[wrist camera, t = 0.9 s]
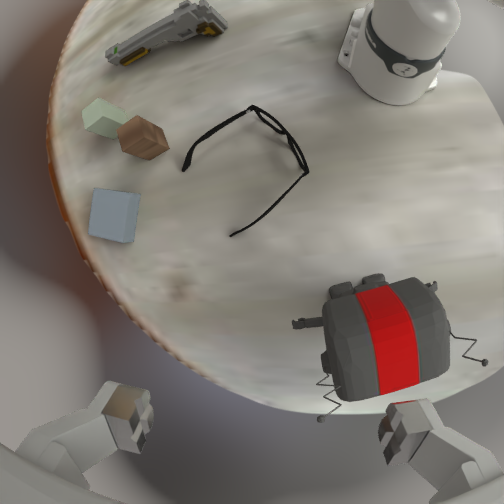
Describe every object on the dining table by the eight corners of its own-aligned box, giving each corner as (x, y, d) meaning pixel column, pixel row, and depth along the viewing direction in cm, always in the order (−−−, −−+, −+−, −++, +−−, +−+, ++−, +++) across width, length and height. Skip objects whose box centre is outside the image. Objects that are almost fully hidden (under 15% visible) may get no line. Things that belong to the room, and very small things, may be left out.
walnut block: (142, 140, 51) (115, 129, 43) (162, 128, 50) (137, 115, 42) (149, 160, 52) (122, 151, 43) (169, 148, 51) (144, 137, 42)
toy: (228, 34, 46) (202, 8, 37) (136, 76, 55) (104, 63, 46) (225, 15, 45) (200, -10, 36) (136, 58, 55) (106, 44, 45)
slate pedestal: (106, 189, 54) (94, 188, 51) (141, 194, 53) (129, 192, 49) (100, 233, 56) (88, 234, 52) (134, 241, 54) (123, 243, 50)
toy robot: (302, 335, 49) (286, 461, 20) (289, 285, 49) (257, 374, 20) (422, 303, 45) (519, 387, 16) (414, 251, 44) (526, 291, 15)
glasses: (319, 177, 47) (322, 172, 42) (234, 241, 50) (227, 243, 45) (259, 105, 48) (255, 94, 43) (180, 167, 51) (168, 161, 46)
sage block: (108, 122, 53) (81, 111, 44) (125, 110, 52) (98, 97, 43) (113, 139, 53) (85, 129, 44) (130, 127, 52) (103, 115, 43)
